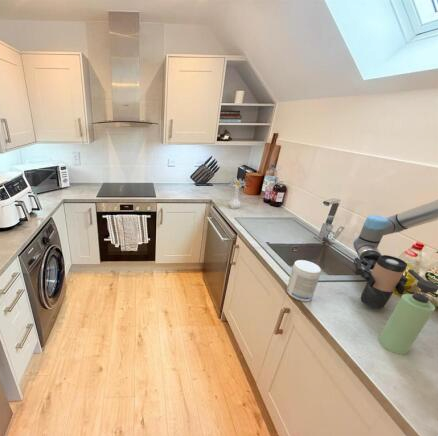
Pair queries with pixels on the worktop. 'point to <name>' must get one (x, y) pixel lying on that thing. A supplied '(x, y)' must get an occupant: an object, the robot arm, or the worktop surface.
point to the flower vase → (236, 192)
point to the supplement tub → (303, 280)
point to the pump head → (424, 283)
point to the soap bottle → (406, 323)
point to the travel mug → (383, 281)
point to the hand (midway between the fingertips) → (387, 287)
